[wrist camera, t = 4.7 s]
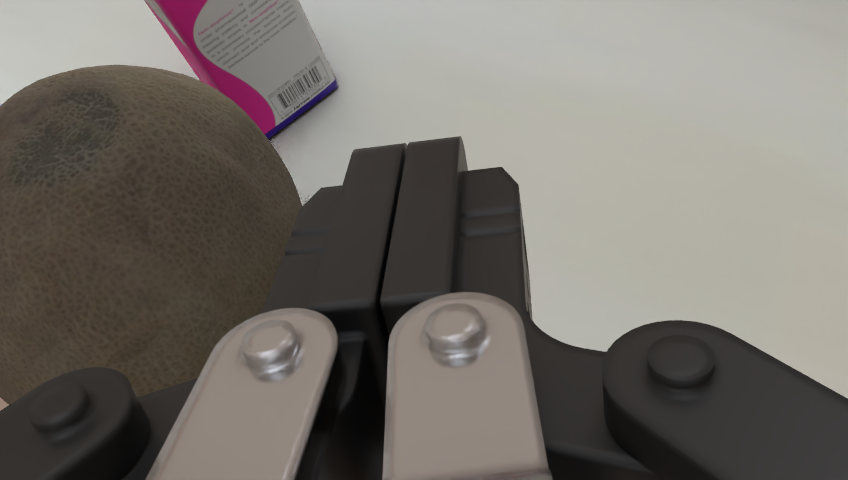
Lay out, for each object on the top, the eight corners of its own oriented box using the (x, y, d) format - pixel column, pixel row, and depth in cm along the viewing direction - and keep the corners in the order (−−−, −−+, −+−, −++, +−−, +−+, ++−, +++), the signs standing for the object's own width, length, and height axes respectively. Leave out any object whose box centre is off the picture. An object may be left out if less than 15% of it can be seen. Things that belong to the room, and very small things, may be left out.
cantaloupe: (418, 288, 38) (326, 94, 25) (215, 543, 34) (-21, 473, 21) (219, 156, 44) (58, -58, 30) (27, 361, 40) (-250, 218, 27)
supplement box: (284, 31, 47) (200, -138, 37) (341, 87, 44) (267, -79, 34) (203, 89, 46) (95, -68, 36) (256, 150, 43) (155, -2, 33)
